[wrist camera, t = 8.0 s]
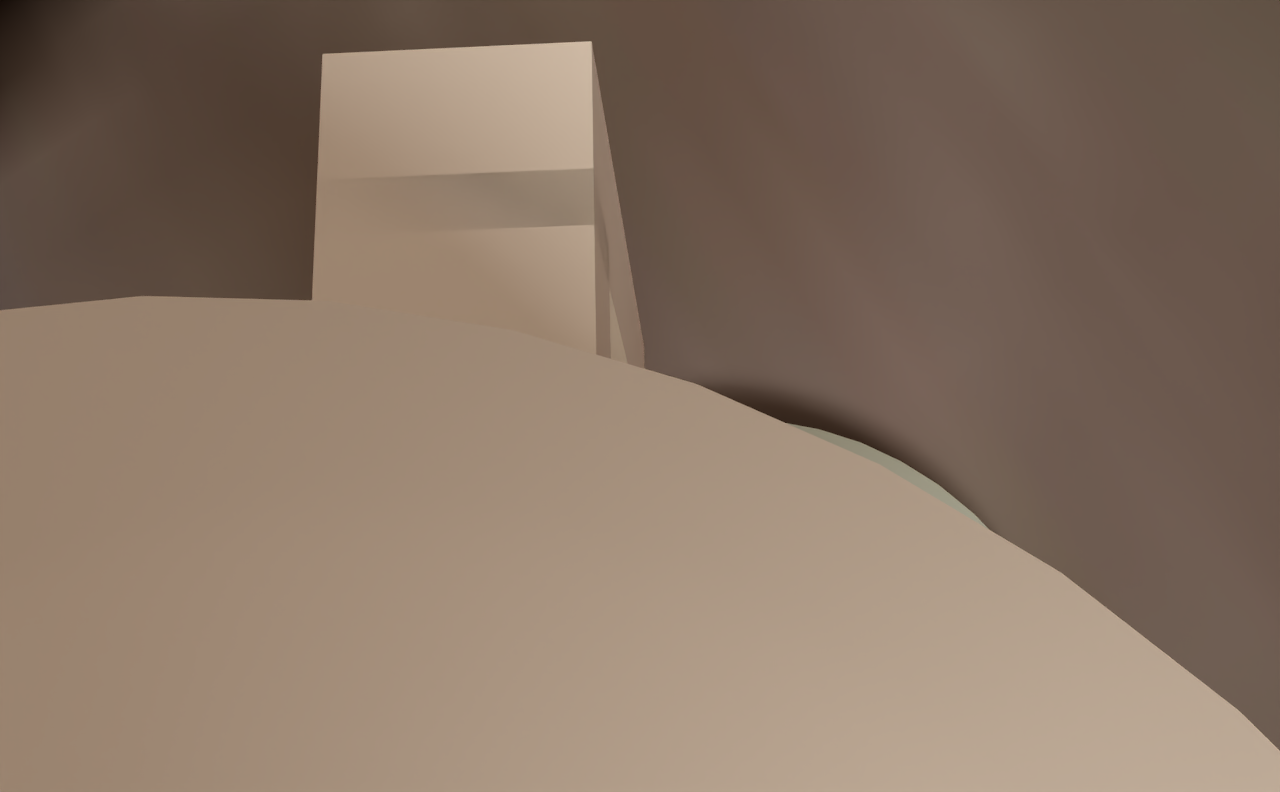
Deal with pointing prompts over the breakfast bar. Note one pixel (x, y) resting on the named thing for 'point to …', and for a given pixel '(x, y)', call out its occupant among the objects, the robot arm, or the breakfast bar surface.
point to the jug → (510, 524)
